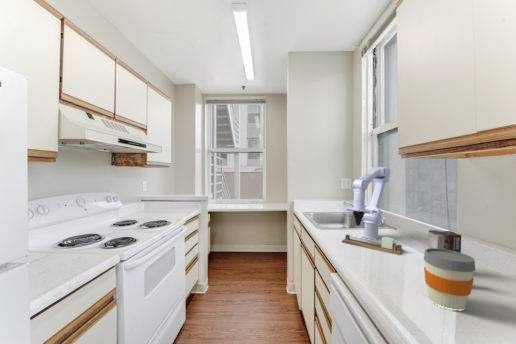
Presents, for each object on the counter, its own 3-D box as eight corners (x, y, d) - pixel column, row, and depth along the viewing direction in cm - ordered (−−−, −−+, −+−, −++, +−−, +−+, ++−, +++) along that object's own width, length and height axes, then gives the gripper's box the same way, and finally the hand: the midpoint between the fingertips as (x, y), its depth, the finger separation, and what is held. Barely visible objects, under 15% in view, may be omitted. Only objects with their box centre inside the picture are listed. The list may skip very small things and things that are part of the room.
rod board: (347, 239, 143) (347, 232, 143) (402, 250, 126) (403, 243, 126) (341, 242, 136) (342, 235, 136) (399, 255, 119) (399, 247, 119)
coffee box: (449, 269, 103) (451, 230, 103) (460, 275, 97) (462, 234, 97) (426, 267, 104) (428, 229, 104) (435, 274, 98) (437, 233, 98)
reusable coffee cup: (420, 289, 85) (422, 245, 84) (467, 300, 78) (470, 253, 78) (423, 306, 74) (425, 256, 74) (478, 320, 67) (481, 266, 67)
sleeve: (383, 245, 129) (383, 236, 129) (393, 247, 126) (394, 238, 126) (381, 247, 126) (381, 238, 126) (392, 249, 123) (392, 240, 123)
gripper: (343, 200, 139) (342, 224, 140) (371, 203, 130) (369, 228, 131) (348, 199, 145) (347, 222, 145) (374, 201, 136) (373, 226, 136)
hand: (358, 225), depth 138 cm, fingers closed
